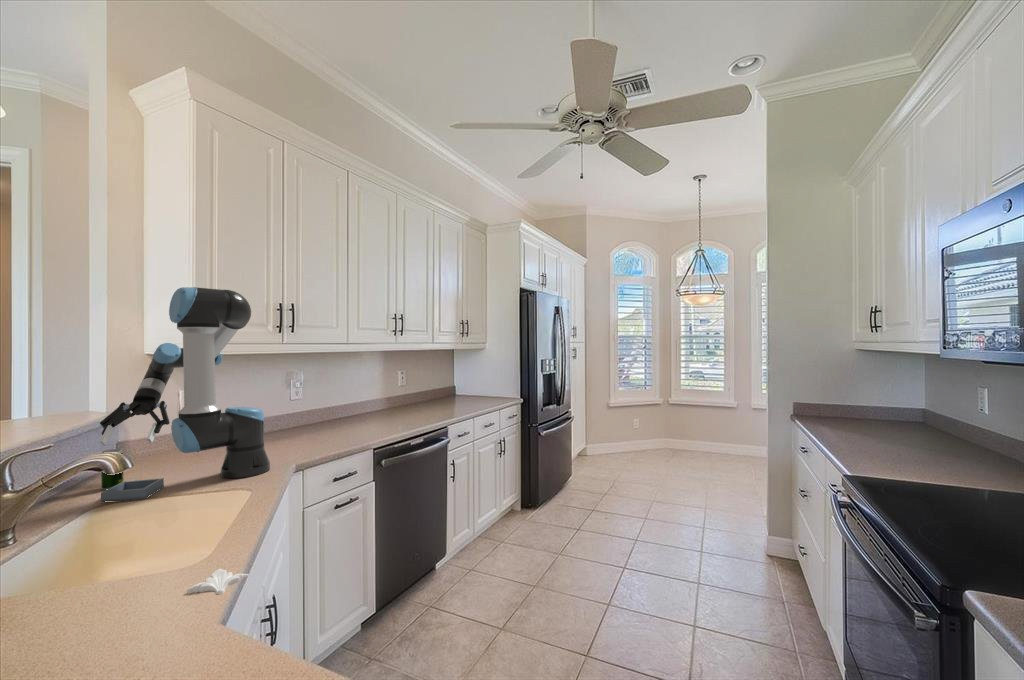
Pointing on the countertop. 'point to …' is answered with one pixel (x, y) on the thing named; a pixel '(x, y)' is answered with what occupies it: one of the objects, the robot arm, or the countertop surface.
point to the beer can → (111, 480)
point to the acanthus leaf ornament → (217, 582)
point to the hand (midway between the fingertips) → (126, 442)
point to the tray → (132, 490)
